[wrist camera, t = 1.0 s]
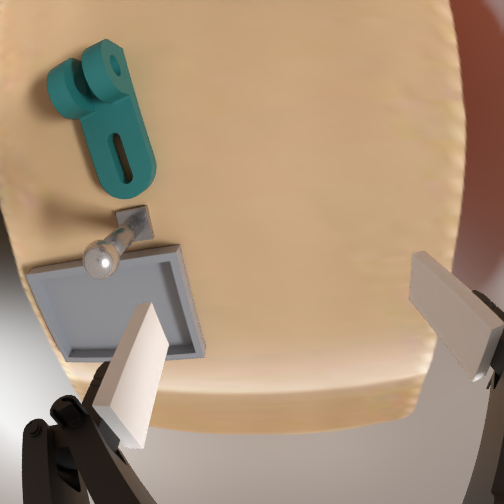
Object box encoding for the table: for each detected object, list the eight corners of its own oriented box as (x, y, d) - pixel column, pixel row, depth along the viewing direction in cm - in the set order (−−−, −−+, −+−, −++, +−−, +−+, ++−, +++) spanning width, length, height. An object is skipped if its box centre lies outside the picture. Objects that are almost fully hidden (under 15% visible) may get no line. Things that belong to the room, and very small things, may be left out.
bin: (34, 267, 38) (25, 275, 35) (179, 244, 37) (176, 252, 35) (71, 352, 44) (66, 361, 41) (205, 346, 43) (204, 357, 41)
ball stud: (117, 211, 35) (68, 249, 23) (147, 205, 35) (106, 243, 23) (125, 241, 37) (82, 290, 25) (154, 236, 37) (119, 285, 25)
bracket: (76, 72, 28) (42, 64, 21) (123, 49, 28) (96, 32, 21) (115, 202, 35) (88, 220, 28) (164, 184, 35) (145, 198, 27)
